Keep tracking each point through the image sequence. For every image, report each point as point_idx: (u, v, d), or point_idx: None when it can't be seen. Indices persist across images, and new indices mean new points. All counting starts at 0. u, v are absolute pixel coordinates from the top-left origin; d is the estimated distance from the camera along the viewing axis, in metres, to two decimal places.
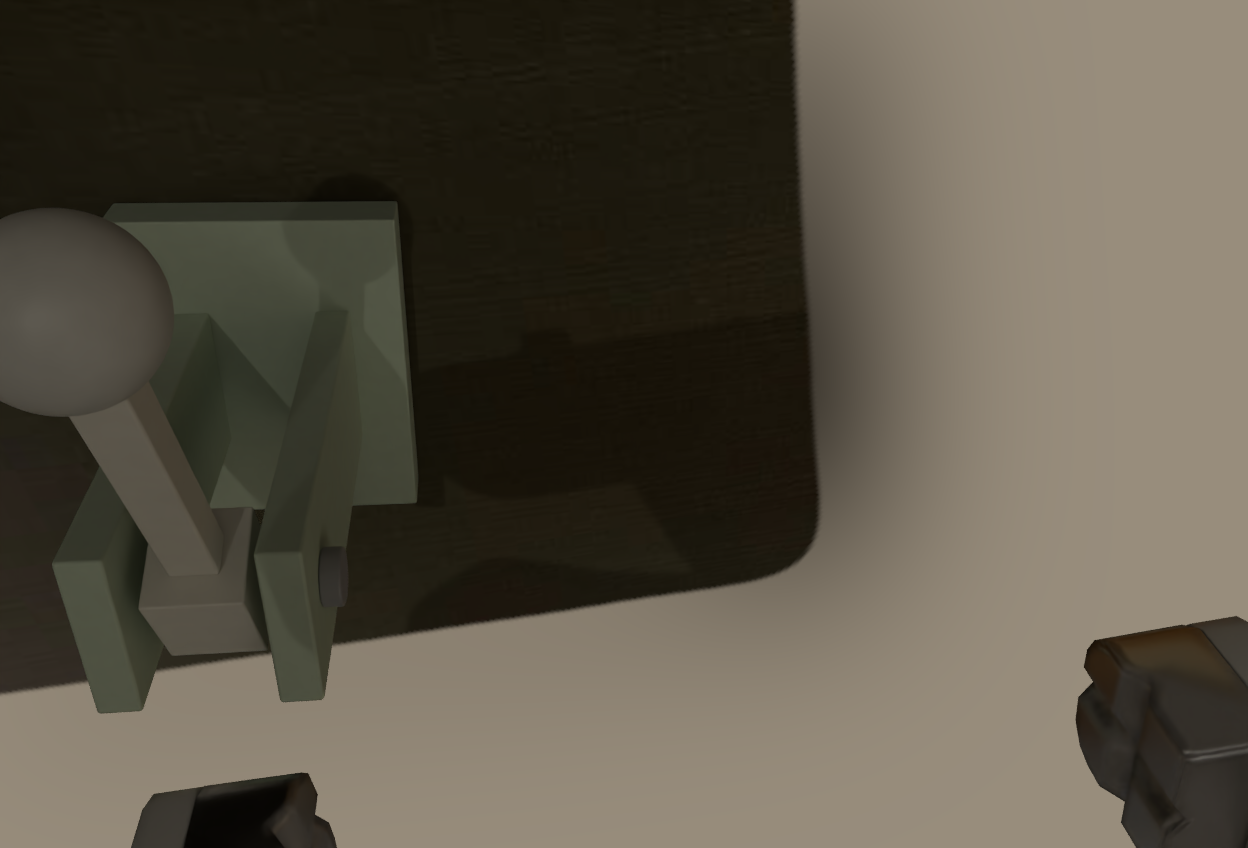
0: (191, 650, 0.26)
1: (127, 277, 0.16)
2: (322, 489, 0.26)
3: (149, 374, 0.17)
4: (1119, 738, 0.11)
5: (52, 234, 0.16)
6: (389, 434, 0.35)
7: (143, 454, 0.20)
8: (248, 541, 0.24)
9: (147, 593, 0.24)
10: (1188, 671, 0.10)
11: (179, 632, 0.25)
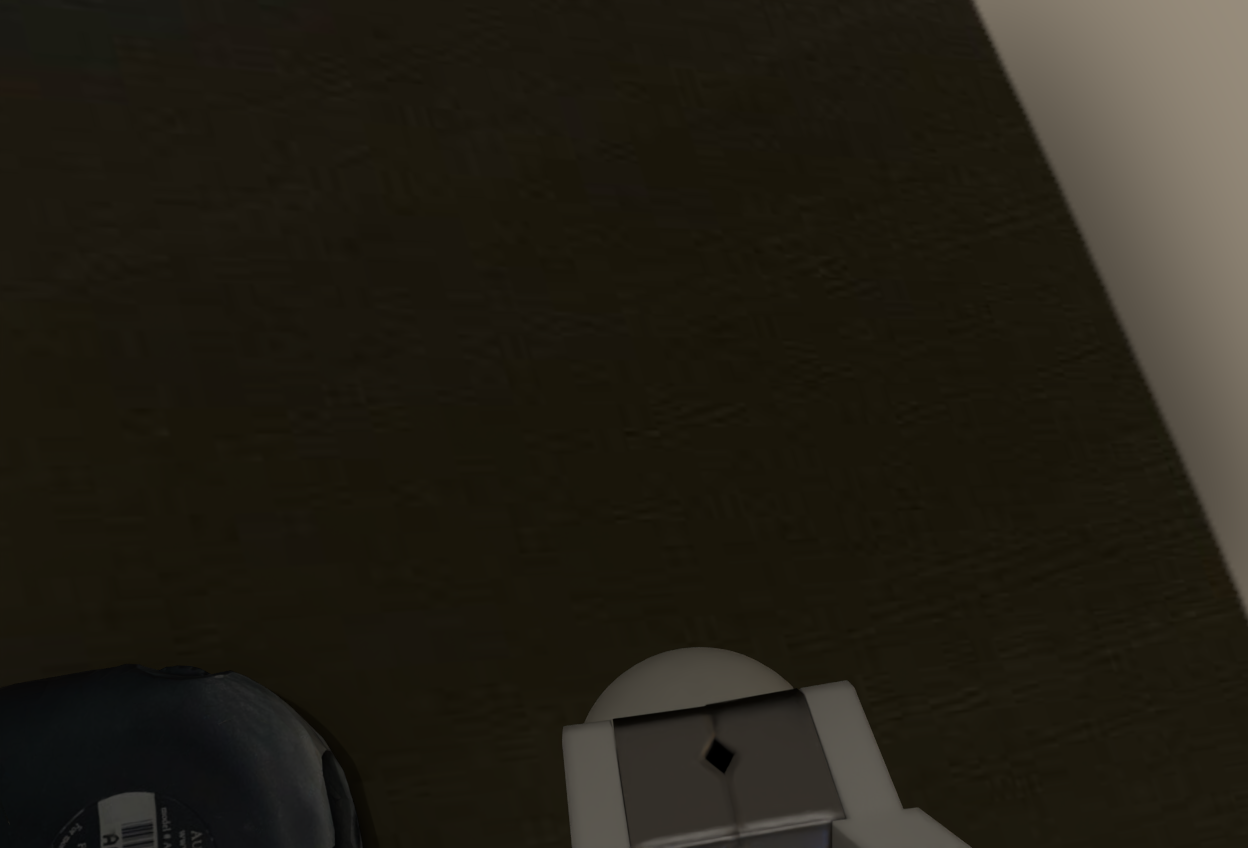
0: None
1: None
2: None
3: None
4: None
5: (708, 650, 0.14)
6: None
7: None
8: None
9: None
10: (775, 740, 0.10)
11: None
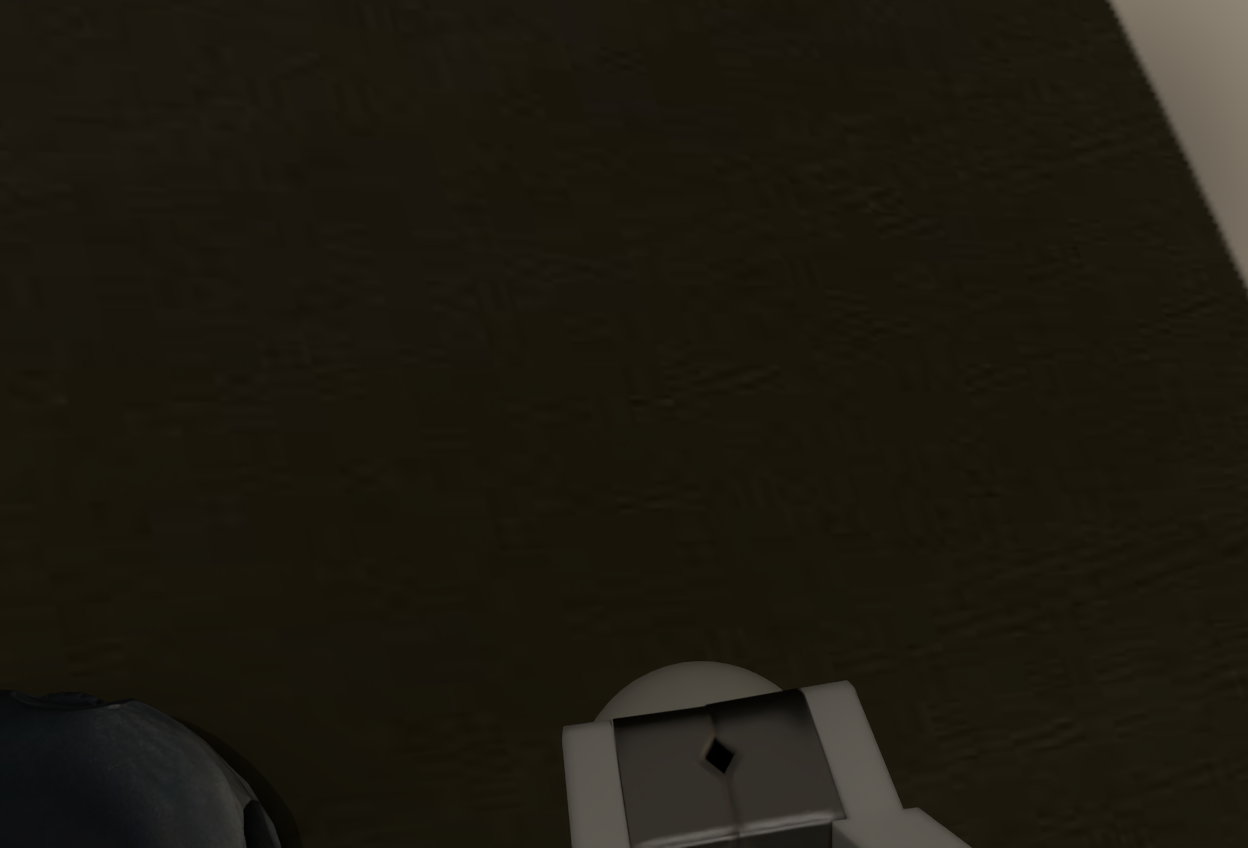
0: None
1: None
2: None
3: None
4: None
5: None
6: None
7: None
8: None
9: None
10: (775, 740, 0.10)
11: None
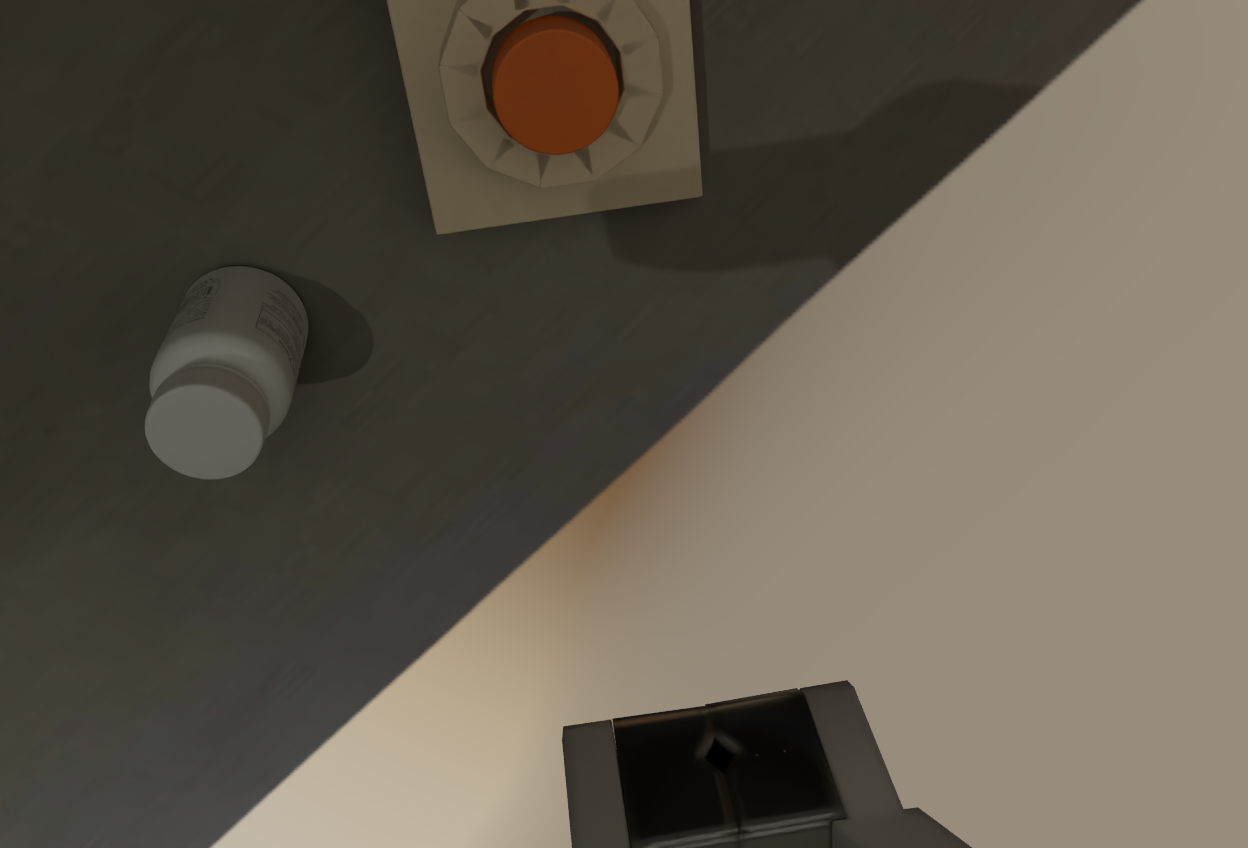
0: None
1: None
2: None
3: None
4: None
5: None
6: None
7: None
8: None
9: None
10: (775, 740, 0.10)
11: None
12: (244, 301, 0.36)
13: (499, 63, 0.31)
